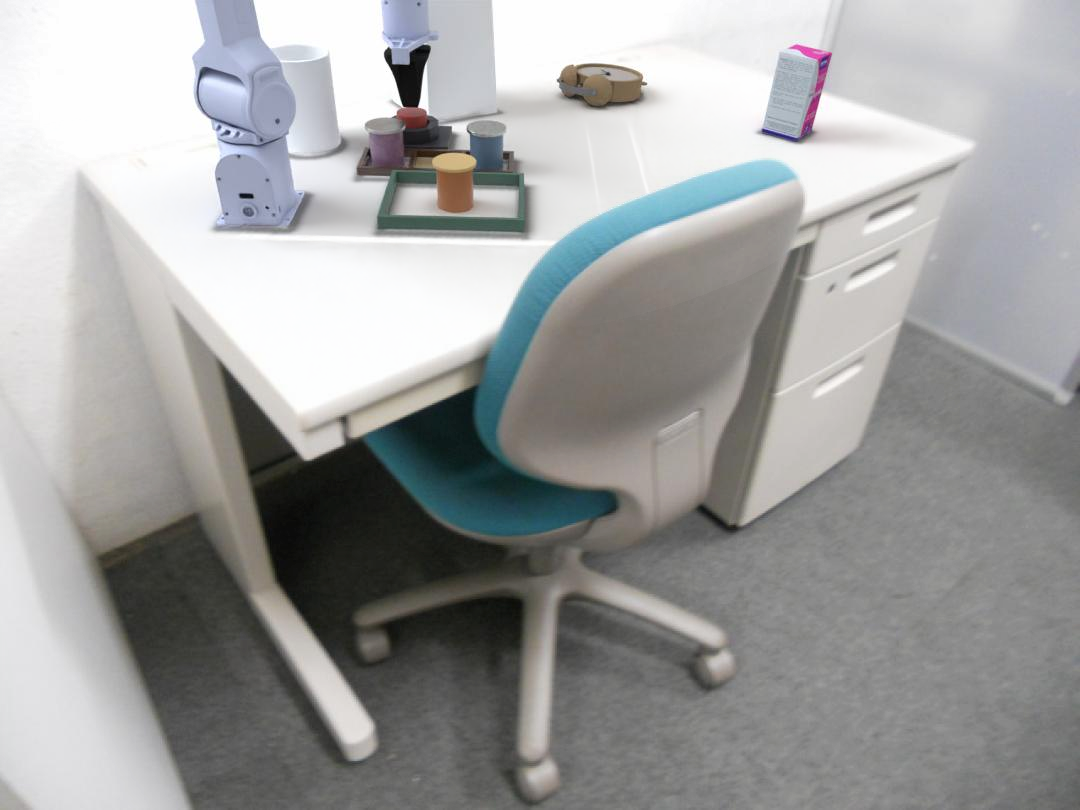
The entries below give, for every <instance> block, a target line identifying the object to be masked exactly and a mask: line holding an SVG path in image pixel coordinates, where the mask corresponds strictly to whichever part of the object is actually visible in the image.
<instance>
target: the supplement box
mask: <svg viewBox="0 0 1080 810" xmlns="http://www.w3.org/2000/svg"><path fill="white" fill-rule="evenodd" d="M832 55H833V52H831V51H827V50H823V49H817V48H813V47H810V46H805V45H802V44H797V43H795V44H794V45H791V46H789V47H787V48H784V49H783V50H780V51H779V53H778V57H777V62H776V67H775V71H774V75H773V79H772V84H771V88H770V93H769V96H768V97H769V98H768V102H767V106H766V111H765V115H764V119H763V123H762V128H761V131H760V132H761V133H762V134H765V135H768V136H773V137H778V138H781V139H783V140H787V141H791V142H798V141H800V139H801V138H803V137H805V136H806V135H808V134H810V133H812V131H813V127H814V123H815V120H816V116H817V112H818V108H819V105H820V100H821V97H822V93H823V89H824V86H825V83H826V77H827V75H828V71H829V67H830V63H831V59H832Z"/></svg>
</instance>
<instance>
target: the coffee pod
mask: <svg viewBox="0 0 1080 810" xmlns="http://www.w3.org/2000/svg"><path fill="white" fill-rule="evenodd" d="M432 165H433V167H434V168H435V169H436V177H437V184H436V196H437V197H436V199H437V207H438V209H440V210H441V211H443V212H447V213H451V214H458V213H459V214H460V213H465V212H468V211H470V210H472V209H473V208H474V205H475V204H474V203H475V202H474V185H473V169H474V168H475V167H476V159H475V158H474V157H472V156H470V155H467V154H463V153H446V154H441V155H438V156H436V157H435V158H434V159H433V160H432Z"/></svg>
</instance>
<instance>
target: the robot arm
mask: <svg viewBox="0 0 1080 810" xmlns="http://www.w3.org/2000/svg"><path fill="white" fill-rule="evenodd" d="M194 2H195V7H196V10H197V14H198V18H199V24H200V27H201V31H202V35H203V39H204V42H203V43H202V44H201V45H200V47H198V49H196V51H194V53H193V54H192V57H191V59H192V61H193V66H194V67H193V68H194V81H193V98H194V101H195V104H196V107H197V108H198V110H199V112H200V113H202V115H203V116H205V117H206V118H207V119H208V120H209V119H210V122H211V127H212V128H211V129H212V130H213V131H215V135H216V140H217V143H218V148H219V158H218V160H217V162H216V165H215V169H214V178H215V179H214V180H215V183H216V187H217V193H218V196H219V197H218V198H219V201H220V205H221V210H222V214H221V216H220V217H219V218H218V220H217V221H216V225H217V227H234V228H237V227H238V228H242V227H243V226H262V227H263V226H264V227H288V226H290V224H291V222H292V220H293V219H294V216H295V214H296V212H297V210H298V208H299V207H300V204H301V202H302V201H303V198H304V197H305V195H306V190H302V189H301V190H299V189H298V190H297V189H295V184H294V183H295V182H294V178H293V172H292V166H291V165H292V164H291V160H290V152H288V146H287V140H286V135H288V134H289V128H290V127H291V125H292V123H293V121H294V118H295V113H296V101H295V96H294V93H293V91H292V89H291V87H290V86H289V84H288V83H287V81H286V79H285V77H284V75H283V71H282V66H281V62H280V60H279V59H278V58H277V57H276V55H275V54H274V53H273V52H272V51H271V48H270V47H269V46H268V44H266V42H265V40H264V39H263V38H262V36H261V30H260V26H259V21H258V15H257V9H256V6H255V0H194ZM380 2H381V4H380V5H381V16H382V29H383V30H382V32H381V39H382V40H383V41H384V43H385V44H386V45H387V47H386V49H384V51H383V58H384V60H385V62H386V65H387V66H388V67H389V69H390V71H391V75H392V74H393V76H394V79H395V82H396V85H397V89H398V93H399V97H400V100H401V103H402V106H403V107H410V108H418V106H419V103H420V98H421V90H422V81H423V74H424V68H425V64H426V62H427V60H428V57H429V54H430V51H431V46H429V45H424V44H425V43H427V42H428V41H436V40H438V38H439V32H438V31H430V30H429V15H428V0H380ZM403 107H402V108H403Z"/></svg>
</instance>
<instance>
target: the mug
mask: <svg viewBox="0 0 1080 810" xmlns="http://www.w3.org/2000/svg"><path fill="white" fill-rule="evenodd" d="M270 49H271V51H272V52H273V53H274V54H275V55H276V57H277V58H278V59H279V60H280V62H281V66H282V71H283V75H284V77H285V79H286V81H287V83H288V84H289V86H290V87H291V89H292V91H293V93H294V96H295V101H296V113H295V118H294V121H293V123H292V125H291V127H290V128H289V134H288V135H286V140H287V146H288V152H289V153H292V154H302V155H303V154H306V155H307V154H318V153H324V152H327V151H331V150H333V149H335V148H337V147H338V146H340V145H341V143H342V138H341V135H340V129H339V122H338V115H337V114H338V113H337V106H336V105H337V104H336V97H335V91H334V89H335V88H334V82H333V81H334V80H333V72H332V63H331V56H330V51H329V49H328V48H326V47H323V46H320V45H317V44H316V45H315V44H307V43H293V44H292V43H291V44H283V45H278V46H274V47H271V48H270Z"/></svg>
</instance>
